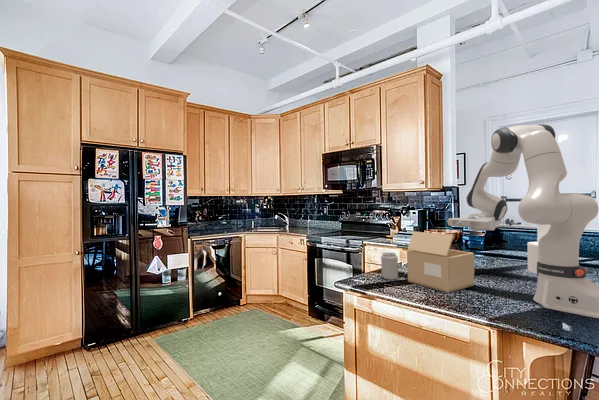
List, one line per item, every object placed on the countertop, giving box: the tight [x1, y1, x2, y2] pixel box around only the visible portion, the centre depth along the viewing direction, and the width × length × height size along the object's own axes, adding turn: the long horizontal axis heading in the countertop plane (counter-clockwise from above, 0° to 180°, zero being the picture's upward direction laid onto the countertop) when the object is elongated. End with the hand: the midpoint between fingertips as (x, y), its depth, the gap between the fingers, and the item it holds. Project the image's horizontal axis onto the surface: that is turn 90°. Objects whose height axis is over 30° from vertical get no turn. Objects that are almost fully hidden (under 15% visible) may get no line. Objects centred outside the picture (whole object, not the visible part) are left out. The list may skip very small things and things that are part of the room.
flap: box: [407, 231, 454, 256], centre depth 135 cm, size 19×9×1 cm
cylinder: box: [526, 224, 551, 275], centre depth 154 cm, size 17×17×28 cm
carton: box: [406, 249, 475, 293], centre depth 138 cm, size 21×19×14 cm
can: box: [380, 252, 399, 281], centre depth 149 cm, size 8×8×12 cm
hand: (460, 224), depth 147 cm, fingers closed
